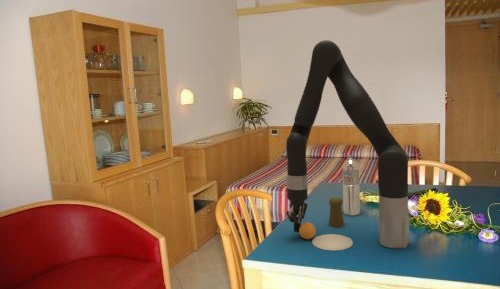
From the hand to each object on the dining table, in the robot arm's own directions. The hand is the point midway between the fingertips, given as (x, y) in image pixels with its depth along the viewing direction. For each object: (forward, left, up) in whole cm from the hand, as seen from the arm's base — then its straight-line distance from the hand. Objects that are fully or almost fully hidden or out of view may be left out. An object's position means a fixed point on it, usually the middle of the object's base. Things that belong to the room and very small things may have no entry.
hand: (297, 231), depth 148 cm
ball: (-4, 0, +1) cm, 4 cm away
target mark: (-13, 0, -2) cm, 14 cm away
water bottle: (-9, -32, -2) cm, 34 cm away
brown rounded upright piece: (-8, -17, -2) cm, 19 cm away
